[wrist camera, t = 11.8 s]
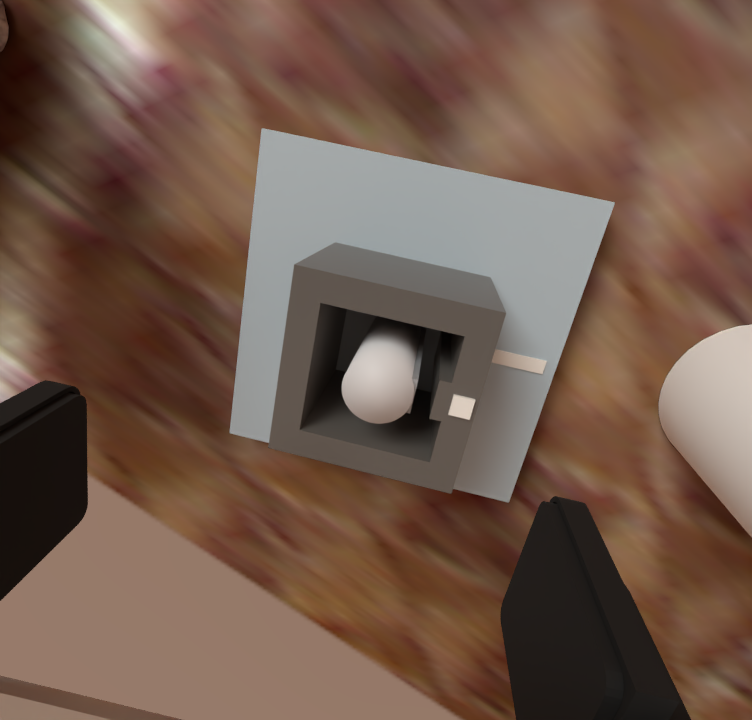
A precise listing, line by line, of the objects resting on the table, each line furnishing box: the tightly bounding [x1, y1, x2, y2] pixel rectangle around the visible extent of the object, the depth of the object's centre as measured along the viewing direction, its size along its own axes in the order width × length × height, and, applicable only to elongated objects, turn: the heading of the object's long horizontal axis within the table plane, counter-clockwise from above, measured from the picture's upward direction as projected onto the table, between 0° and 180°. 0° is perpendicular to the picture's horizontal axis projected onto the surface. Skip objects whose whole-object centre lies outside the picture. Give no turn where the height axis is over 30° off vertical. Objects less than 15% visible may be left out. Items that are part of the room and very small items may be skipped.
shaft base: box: [230, 128, 615, 503], centre depth 20 cm, size 14×14×8 cm
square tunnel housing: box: [268, 242, 506, 494], centre depth 19 cm, size 7×7×6 cm
